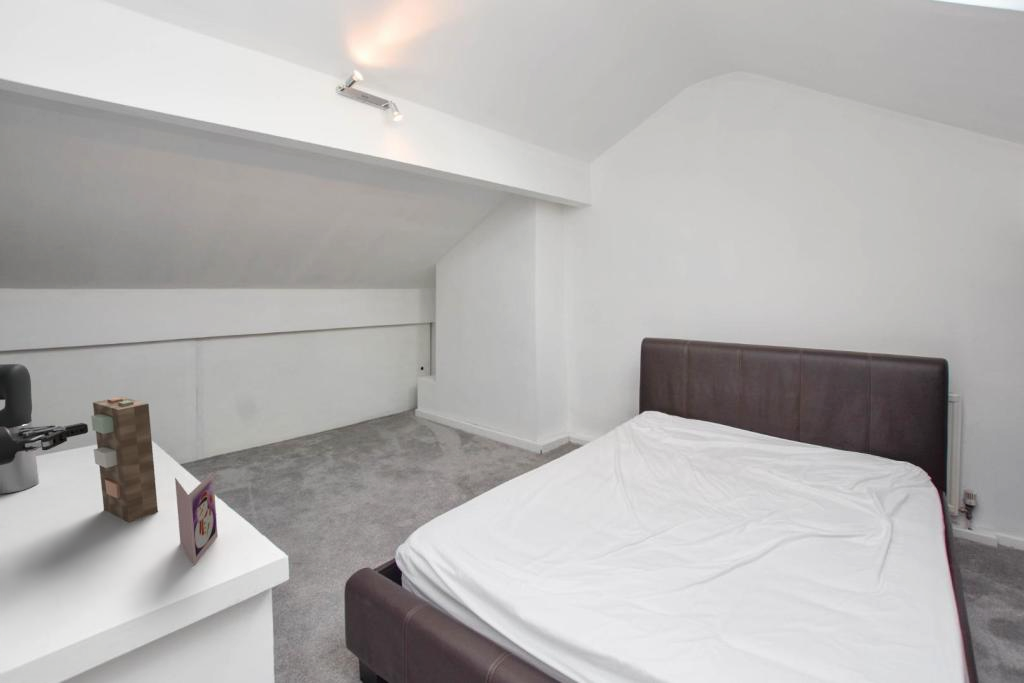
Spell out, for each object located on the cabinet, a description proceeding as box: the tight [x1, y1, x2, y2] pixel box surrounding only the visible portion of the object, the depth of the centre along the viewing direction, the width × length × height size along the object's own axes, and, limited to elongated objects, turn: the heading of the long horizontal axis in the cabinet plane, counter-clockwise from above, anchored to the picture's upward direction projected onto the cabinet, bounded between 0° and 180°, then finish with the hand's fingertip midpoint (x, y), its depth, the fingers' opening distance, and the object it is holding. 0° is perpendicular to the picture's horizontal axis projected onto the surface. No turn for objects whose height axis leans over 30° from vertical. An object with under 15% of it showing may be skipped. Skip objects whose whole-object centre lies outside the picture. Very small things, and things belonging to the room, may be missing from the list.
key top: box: [90, 414, 114, 434], centre depth 113 cm, size 5×3×3 cm, turn 62°
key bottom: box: [105, 479, 121, 499], centre depth 116 cm, size 5×3×3 cm, turn 62°
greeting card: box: [174, 471, 219, 567], centre depth 101 cm, size 11×7×15 cm, turn 10°
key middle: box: [93, 447, 117, 468], centre depth 114 cm, size 5×3×3 cm, turn 62°
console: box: [92, 396, 159, 523], centre depth 117 cm, size 12×6×28 cm, turn 62°
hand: (86, 427), depth 109 cm, fingers closed
